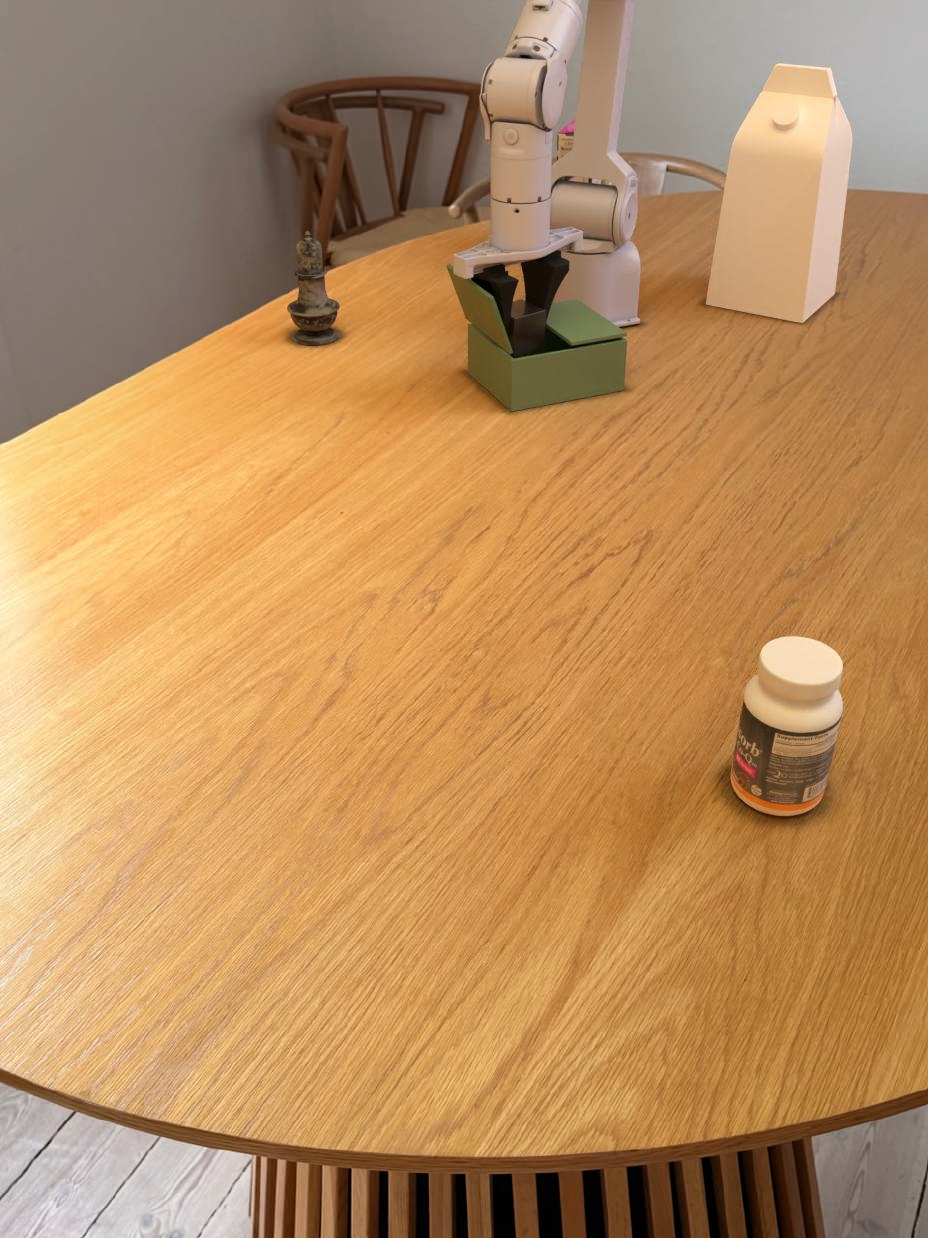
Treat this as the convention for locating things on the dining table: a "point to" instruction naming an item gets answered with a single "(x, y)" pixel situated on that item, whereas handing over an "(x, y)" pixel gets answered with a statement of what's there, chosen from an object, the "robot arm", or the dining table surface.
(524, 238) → the robot arm
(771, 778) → the pill bottle
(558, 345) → the carton
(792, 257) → the milk
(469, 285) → the flap
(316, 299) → the grey tall tiered piece
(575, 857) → the dining table surface
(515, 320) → the block
